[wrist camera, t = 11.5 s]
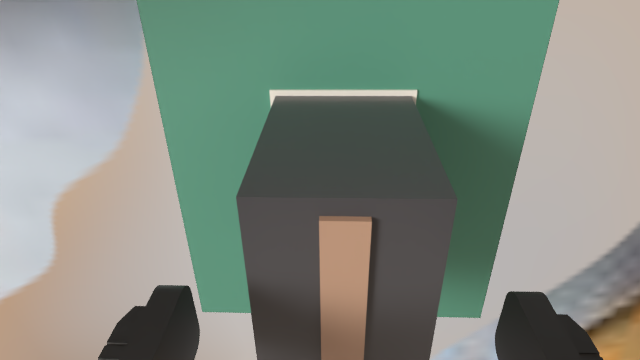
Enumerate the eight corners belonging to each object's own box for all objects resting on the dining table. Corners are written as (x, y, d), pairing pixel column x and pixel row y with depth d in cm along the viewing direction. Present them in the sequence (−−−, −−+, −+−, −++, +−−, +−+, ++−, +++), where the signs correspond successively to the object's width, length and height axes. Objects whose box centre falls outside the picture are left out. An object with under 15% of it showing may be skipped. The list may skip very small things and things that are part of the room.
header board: (146, -42, 15) (88, -35, 12) (550, -48, 15) (615, -42, 11) (210, 290, 23) (187, 353, 20) (472, 295, 23) (496, 361, 19)
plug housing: (275, 95, 16) (233, 201, 10) (411, 96, 16) (459, 204, 9) (285, 244, 19) (259, 393, 13) (396, 246, 19) (424, 398, 13)
